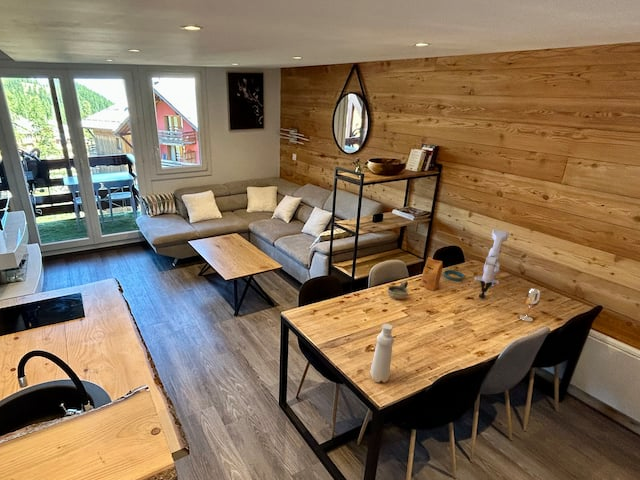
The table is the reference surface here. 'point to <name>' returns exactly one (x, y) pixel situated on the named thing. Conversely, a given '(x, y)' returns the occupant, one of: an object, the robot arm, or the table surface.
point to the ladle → (482, 294)
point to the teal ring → (454, 274)
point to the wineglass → (531, 302)
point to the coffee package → (431, 274)
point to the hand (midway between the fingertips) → (483, 291)
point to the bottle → (382, 355)
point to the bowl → (399, 290)
